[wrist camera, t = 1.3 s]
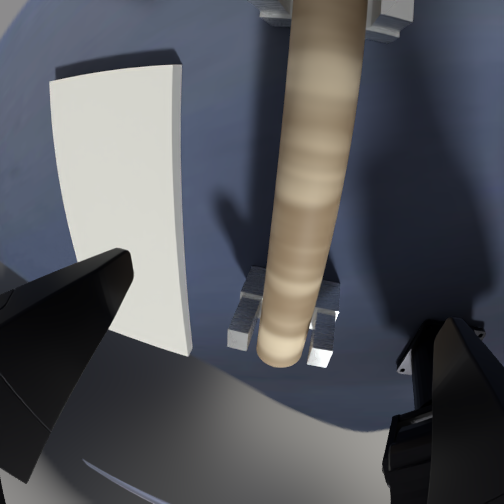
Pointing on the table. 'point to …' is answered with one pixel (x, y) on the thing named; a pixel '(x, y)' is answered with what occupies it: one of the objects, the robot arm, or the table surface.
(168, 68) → the cutting board
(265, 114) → the table surface
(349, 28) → the beech dowel
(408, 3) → the aluminium cradles
